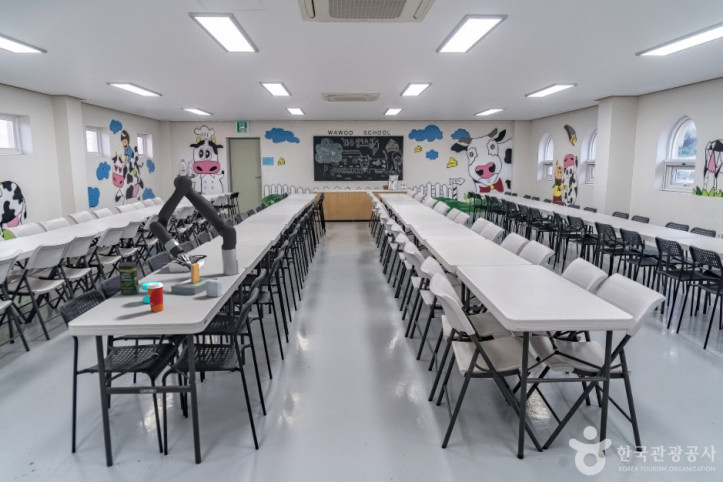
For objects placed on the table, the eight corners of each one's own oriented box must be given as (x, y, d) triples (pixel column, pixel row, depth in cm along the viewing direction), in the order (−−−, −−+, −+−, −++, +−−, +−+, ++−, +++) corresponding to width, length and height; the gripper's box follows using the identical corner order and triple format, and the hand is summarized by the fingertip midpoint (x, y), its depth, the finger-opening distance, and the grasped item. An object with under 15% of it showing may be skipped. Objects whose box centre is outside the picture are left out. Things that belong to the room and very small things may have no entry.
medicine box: (223, 295, 257) (221, 280, 256) (218, 297, 253) (217, 282, 252) (211, 294, 260) (210, 279, 259) (206, 296, 256) (205, 281, 254)
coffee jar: (118, 295, 261) (114, 263, 258) (125, 291, 269) (122, 260, 265) (135, 295, 261) (132, 263, 257) (142, 291, 268) (138, 260, 265)
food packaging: (176, 255, 336) (207, 254, 336) (177, 265, 337) (208, 264, 338) (163, 262, 311) (196, 262, 312) (164, 273, 312) (197, 272, 313)
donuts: (153, 280, 254) (164, 282, 248) (155, 297, 255) (166, 300, 250) (136, 284, 245) (148, 286, 240) (138, 302, 247) (149, 305, 242)
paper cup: (152, 308, 236) (149, 282, 233) (167, 307, 237) (165, 281, 234) (146, 313, 228) (143, 286, 226) (162, 312, 229) (159, 285, 226)
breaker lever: (190, 284, 269) (191, 265, 267) (196, 282, 274) (196, 263, 271) (193, 285, 269) (193, 265, 266) (199, 283, 273) (199, 263, 271)
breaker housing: (171, 292, 264) (170, 285, 263) (195, 283, 284) (195, 276, 284) (194, 294, 259) (194, 287, 258) (217, 284, 280) (217, 278, 279)
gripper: (170, 246, 264) (189, 268, 262) (185, 242, 276) (203, 263, 275) (163, 254, 266) (182, 276, 265) (178, 250, 279) (196, 271, 277)
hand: (192, 269), depth 270 cm, fingers closed
